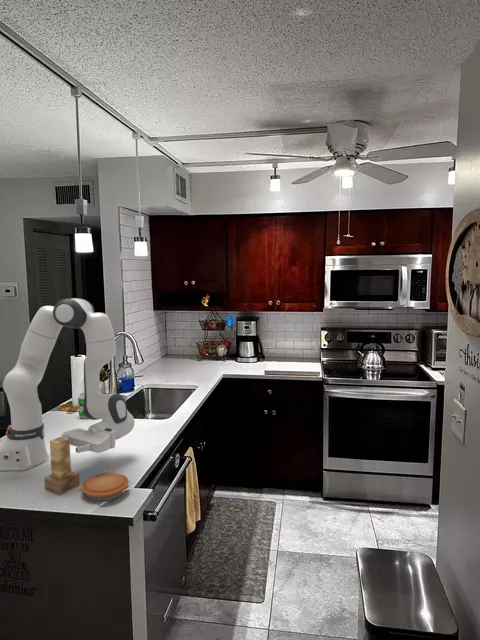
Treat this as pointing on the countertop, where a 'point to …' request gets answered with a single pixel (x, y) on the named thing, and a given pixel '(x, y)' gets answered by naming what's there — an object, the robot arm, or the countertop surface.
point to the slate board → (93, 471)
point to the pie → (105, 486)
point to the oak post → (60, 457)
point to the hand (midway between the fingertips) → (67, 447)
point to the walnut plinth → (61, 483)
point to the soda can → (81, 406)
